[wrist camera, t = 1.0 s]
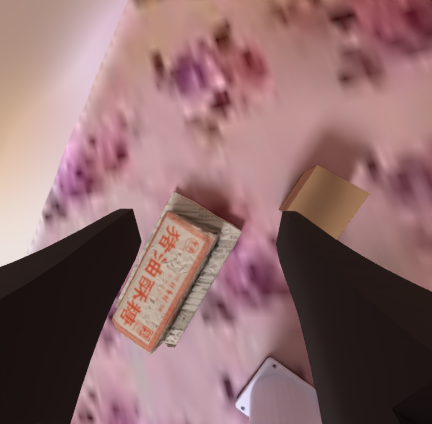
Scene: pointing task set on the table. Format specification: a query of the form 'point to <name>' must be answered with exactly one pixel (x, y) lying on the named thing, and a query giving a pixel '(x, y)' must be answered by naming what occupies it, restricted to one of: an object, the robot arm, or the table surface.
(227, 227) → the packaged product
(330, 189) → the tan cube
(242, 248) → the table surface
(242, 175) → the table surface
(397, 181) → the table surface
